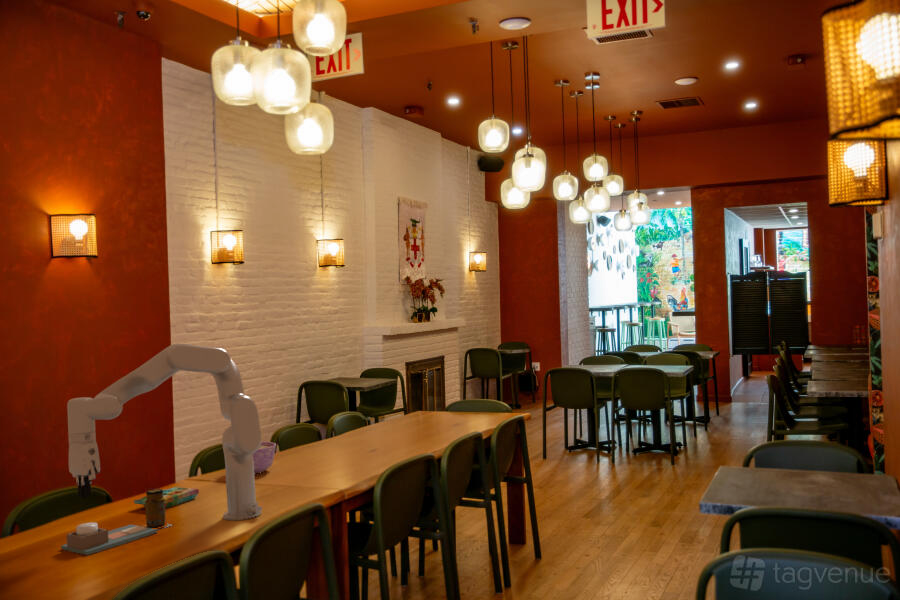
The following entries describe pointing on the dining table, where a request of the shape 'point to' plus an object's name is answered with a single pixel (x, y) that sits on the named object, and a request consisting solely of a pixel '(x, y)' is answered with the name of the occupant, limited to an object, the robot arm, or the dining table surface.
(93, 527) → the dome
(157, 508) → the condiment
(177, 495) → the puzzle game
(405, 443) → the dining table surface
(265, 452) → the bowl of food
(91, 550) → the board
